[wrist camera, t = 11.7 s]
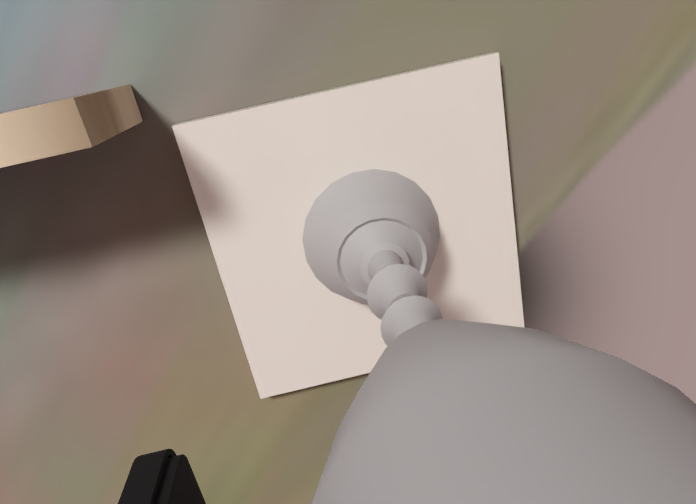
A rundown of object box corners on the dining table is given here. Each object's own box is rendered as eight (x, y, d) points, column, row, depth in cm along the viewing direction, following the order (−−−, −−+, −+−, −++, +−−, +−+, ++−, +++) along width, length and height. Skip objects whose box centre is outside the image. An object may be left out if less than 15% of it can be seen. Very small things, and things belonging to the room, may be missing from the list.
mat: (491, 52, 18) (498, 52, 18) (519, 328, 22) (525, 335, 22) (175, 123, 18) (172, 126, 17) (261, 389, 22) (260, 398, 21)
